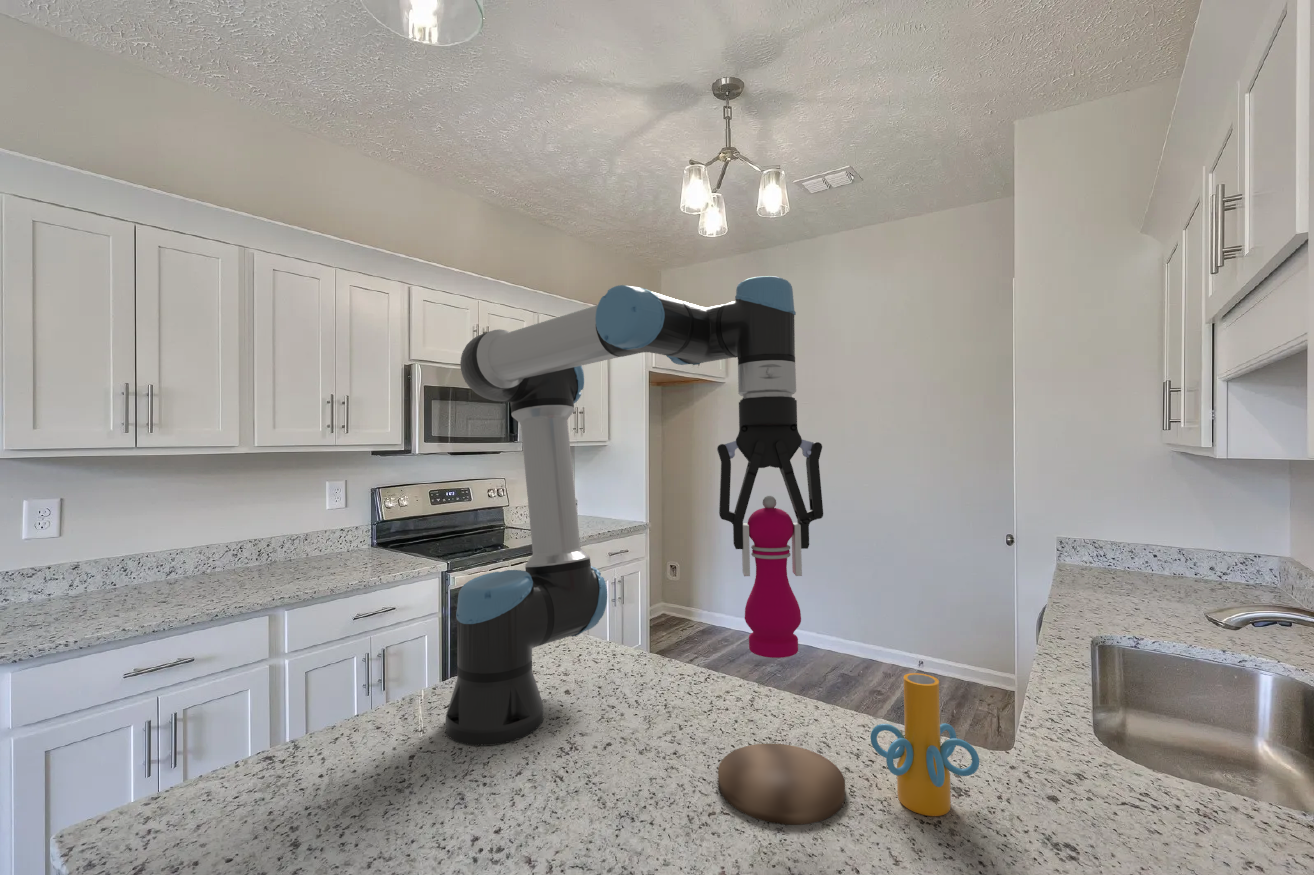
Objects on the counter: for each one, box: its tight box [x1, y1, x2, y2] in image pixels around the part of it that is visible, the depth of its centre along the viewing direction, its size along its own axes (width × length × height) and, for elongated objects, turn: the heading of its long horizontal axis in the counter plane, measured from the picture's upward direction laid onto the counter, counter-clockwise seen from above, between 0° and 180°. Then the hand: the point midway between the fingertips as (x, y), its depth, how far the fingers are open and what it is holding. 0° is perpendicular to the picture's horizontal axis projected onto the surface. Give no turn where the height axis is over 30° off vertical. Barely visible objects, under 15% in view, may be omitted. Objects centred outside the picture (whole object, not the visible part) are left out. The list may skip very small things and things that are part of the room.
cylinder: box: [870, 672, 980, 817], centre depth 72 cm, size 12×10×15 cm
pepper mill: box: [744, 495, 802, 659], centre depth 77 cm, size 7×7×20 cm
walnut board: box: [717, 743, 846, 826], centre depth 76 cm, size 16×16×2 cm
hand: (771, 573), depth 77 cm, fingers closed on pepper mill, 6 cm apart
